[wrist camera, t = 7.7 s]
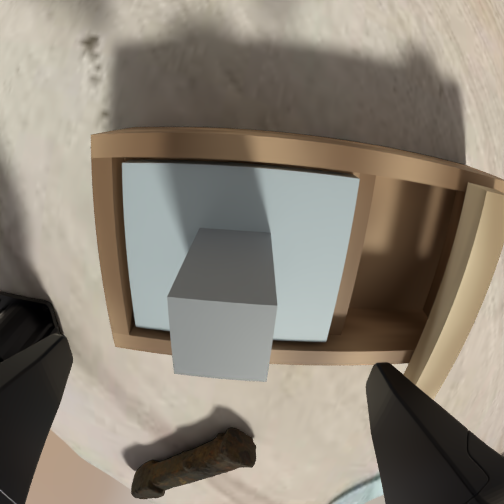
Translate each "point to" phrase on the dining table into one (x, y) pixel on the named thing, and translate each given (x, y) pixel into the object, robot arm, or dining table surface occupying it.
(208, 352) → the lid
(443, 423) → the robot arm
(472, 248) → the wooden bar
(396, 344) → the toolbox
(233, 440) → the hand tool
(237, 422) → the dining table surface
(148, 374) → the dining table surface
